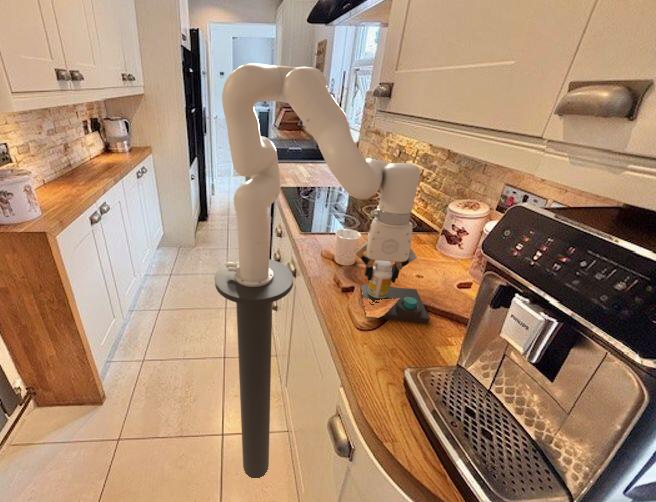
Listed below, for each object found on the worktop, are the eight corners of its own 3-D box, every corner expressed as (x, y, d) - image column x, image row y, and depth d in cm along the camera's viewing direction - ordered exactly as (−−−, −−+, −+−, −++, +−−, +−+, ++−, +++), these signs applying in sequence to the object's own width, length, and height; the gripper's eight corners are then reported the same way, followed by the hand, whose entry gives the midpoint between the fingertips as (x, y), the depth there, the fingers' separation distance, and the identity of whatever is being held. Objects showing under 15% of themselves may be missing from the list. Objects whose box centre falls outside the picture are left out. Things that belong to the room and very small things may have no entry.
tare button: (404, 309, 81) (405, 303, 80) (401, 301, 84) (403, 296, 83) (417, 310, 81) (418, 304, 80) (414, 303, 83) (415, 297, 82)
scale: (365, 318, 83) (367, 307, 81) (360, 289, 94) (362, 279, 93) (428, 325, 80) (432, 314, 79) (414, 294, 92) (417, 283, 90)
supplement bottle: (388, 290, 91) (395, 260, 86) (386, 301, 86) (393, 269, 82) (369, 286, 93) (374, 256, 88) (365, 295, 89) (371, 265, 84)
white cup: (347, 253, 114) (351, 227, 109) (361, 264, 107) (366, 236, 103) (328, 257, 111) (331, 231, 107) (341, 268, 105) (345, 240, 100)
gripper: (358, 219, 77) (348, 283, 86) (435, 224, 74) (417, 289, 83) (355, 208, 84) (346, 269, 92) (426, 212, 81) (410, 274, 89)
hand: (380, 278), depth 87 cm, fingers closed on supplement bottle, 5 cm apart
